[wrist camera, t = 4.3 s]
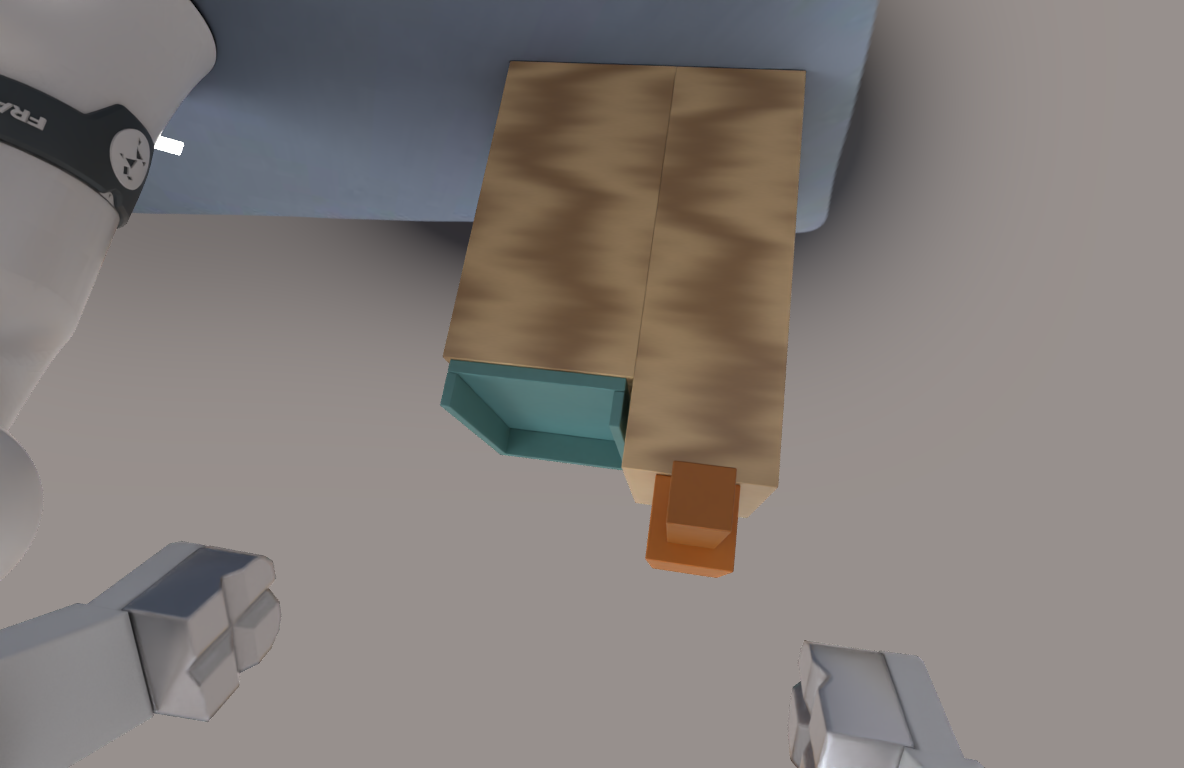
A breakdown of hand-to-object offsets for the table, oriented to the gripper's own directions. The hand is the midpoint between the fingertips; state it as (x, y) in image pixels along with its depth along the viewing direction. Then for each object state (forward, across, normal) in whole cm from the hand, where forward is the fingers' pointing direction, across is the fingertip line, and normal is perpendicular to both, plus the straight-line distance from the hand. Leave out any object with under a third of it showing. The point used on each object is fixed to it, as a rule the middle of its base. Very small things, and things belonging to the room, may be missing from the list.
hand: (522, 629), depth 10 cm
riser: (+44, +2, -7) cm, 45 cm away
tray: (+31, +6, +10) cm, 33 cm away
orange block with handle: (+24, -3, +10) cm, 26 cm away
